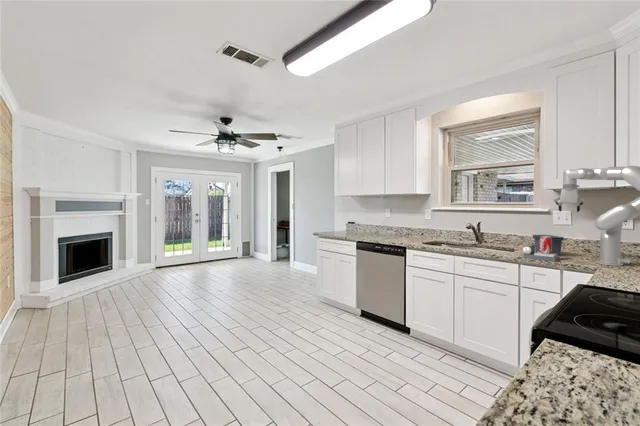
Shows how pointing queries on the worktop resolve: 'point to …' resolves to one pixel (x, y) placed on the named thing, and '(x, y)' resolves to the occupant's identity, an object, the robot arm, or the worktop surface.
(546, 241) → the soda can
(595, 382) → the worktop surface
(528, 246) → the dial scale
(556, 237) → the storage bin
